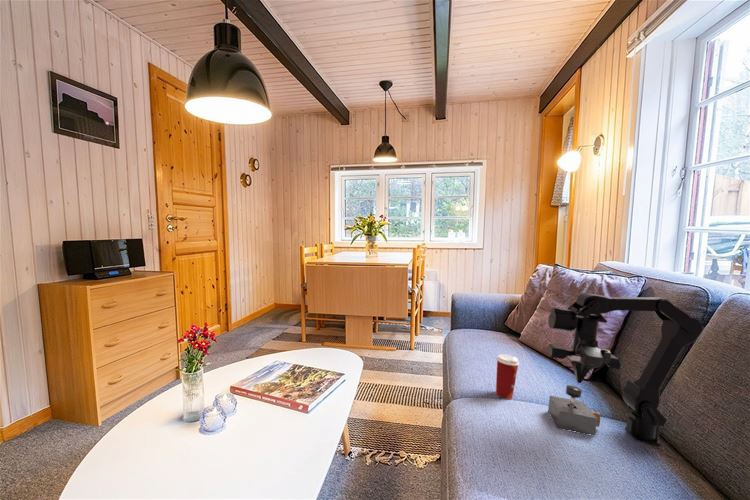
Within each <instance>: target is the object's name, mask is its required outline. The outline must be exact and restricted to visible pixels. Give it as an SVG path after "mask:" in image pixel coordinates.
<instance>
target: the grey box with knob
mask: <svg viewBox="0 0 750 500" xmlns="http://www.w3.org/2000/svg"><path fill="white" fill-rule="evenodd" d="M548 398H549V399H548V409H547V412H548V414H549V413H550V414H549V416H550V415H551V416H550V417H552V418H551V420H552V419H553V420H552V422H553V423H554V425H555V424H556V425H555V427H556V426H557V427H556V428H557V429H558V430H562V429H565V430H564V431H567V430H571V431H570V432H572V431H576V432H580V433H579V434H581V433H585V434H584V435H586V434H591V435H595V436H596V429H597V428H600V423H601V415H602V414H601V413H600V412H599V411H594V410H591V409H590V408H589V407H588V406H587V405H586V403H585V402H584V401H579V400H575V404H574V407H575V408H576V409H575V408H570V407H568V406H570V398H564V397H559V396H554V395H549V397H548ZM576 432H575V433H576Z"/></svg>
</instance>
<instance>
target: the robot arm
mask: <svg viewBox="0 0 750 500" xmlns="http://www.w3.org/2000/svg"><path fill="white" fill-rule="evenodd" d="M615 311H621V312H623V311H625V312H626V311H628V312H629V311H630V312H653V313H654V314H655V315H656V317H657V318H658V319H660V320H661V321H662V324H661V327H660V330H661V331H660V332H661V339H660V341H659V343H658V344H657V347H656V348H655V350H654V352H653V353H652V355H651V358H650V359H649V361H648V362H647V364H646V366H645V368H644V369H643V372H642V373H641V375H640V377H639V378H638V379H636V380H634V381H631V380H629V379H628V380H627V381H626V382H625V383H626V384H625V386H624V387H623V388H622V389H621V391H622V395H621V397H622V399H623V402H624V403H625V404H626V406H627V408H628V409H629V410H630V412H629V416H628V417H627V420H626V426H624V429H625V430H626V431H627V432H628V433H629V434H630V435H631V437H633V439H634V440H636V441H638V440H640V441H639V442H643V441H645V442H644V443H648V442H649V443H648V444H652V445H658V446H662V443H661V441H659V437H660V436H659V433H660V427H664V425H665V424H666V423H667V418H665V417H664V415H663V414H662V413H661V412H660V411H659V409H658V408H659V406H660V402H661V399H660V389H661V387H662V385H663V384H664V382H665V380H666V378H667V377H668V375H669V373H670V371H671V370H672V368H673V366H674V364H675V362H676V361H677V359H678V357H679V355H680V354H681V352H682V350H683V349H684V348H685V347H687V346H688V345H690V344H692V343H694V342H695V341H696V340H697V339H698V338H699V337H700V336H701V335H702V333H703V330H704V326H703V325H702V322H701V321H700V320H698V319H697V318H694V317H691V316H690V315H689V314H687V313H686V312H685V311H683V310H682V309H680V308H678V307H677V306H675V305H674V304H673V303H672V302H671V301H669V300H668V299H666V298H664V297H659V296H651V297H647V296H646V297H645V296H643V297H642V296H641V297H639V296H636V297H635V296H634V297H633V296H606V295H602V294H596V293H590V292H582V293H580V294H579V295H578V296H577V298H576V300H575V301H574V302H572V304H571V305H570V306H568V307H567V308H566V309H565V308H561V307H560V308H559V307H558V306H557V307H556V306H553V307H552V310H551V311H550V313H549V315H548V316H547V317H548V319H547V323H548V327H549V328H550V329H553V330H557V331H558V330H559V331H565V332H572V331H574V332H573V333H572V337H573V342H572V345H570V349H571V350H570V349H566V348H565V347H564V346H562V345H559V344H554V343H549V344H547V349H546V352H547V353H548V354H549V355H550V356H551V357H552V358H554V359H556V358H557V359H561V360H565V358H566V359H567V360H568V361H569V362H570V364H571V366H572V370H573V372H574V377H575V379H576V382H577V383H578V384H581V383H582V382H583V381H584V379H585V378H586V376H587V375H588V373H589V372H590V371H591V370H593V369H594V368H597V369H598V368H600V367H602V364H603V363H604V364H606V365H607V367H608V368H611V369H614V370H615V369H616V370H621V369H622V368H621V367H622V361H621V359H619V358H618V357H616V356H615V355H613V354H612V352H611V351H610V350H609V349H603V348H602V349H601V348H599V340H597V338H598V336H597V335H598V330H599V323H605V324H607V323H608V320H607V319H606V318H605V317H604V315H603V314H608V313H611V312H615Z"/></svg>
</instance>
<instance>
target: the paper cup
mask: <svg viewBox="0 0 750 500" xmlns="http://www.w3.org/2000/svg"><path fill="white" fill-rule="evenodd" d="M496 361H497V362H496V380H495V381H496V383H495V394H496V396H498V397H499V398H502V399H505V400H512V399H513V396H514V391H515V387H516V386H515V385H516V380H517V374H518V367H519V365H520V361H519V359H518V358H517V357H515V356H513V355H510V354H507V353H506V354H504V353H503V354H498V356H497V358H496Z"/></svg>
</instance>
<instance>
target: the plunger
mask: <svg viewBox="0 0 750 500" xmlns="http://www.w3.org/2000/svg"><path fill="white" fill-rule="evenodd" d="M565 394H566V395H568V396H569V397H570V398H569V399H570V406H568V407H570V408H575V407H574V404H575V401H576V398H577V399H580V398H581V397H582V389H581V388H579V387H578V386H575V385H571V384H570V385H569V384H567V385H566V389H565ZM575 409H576V408H575Z"/></svg>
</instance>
